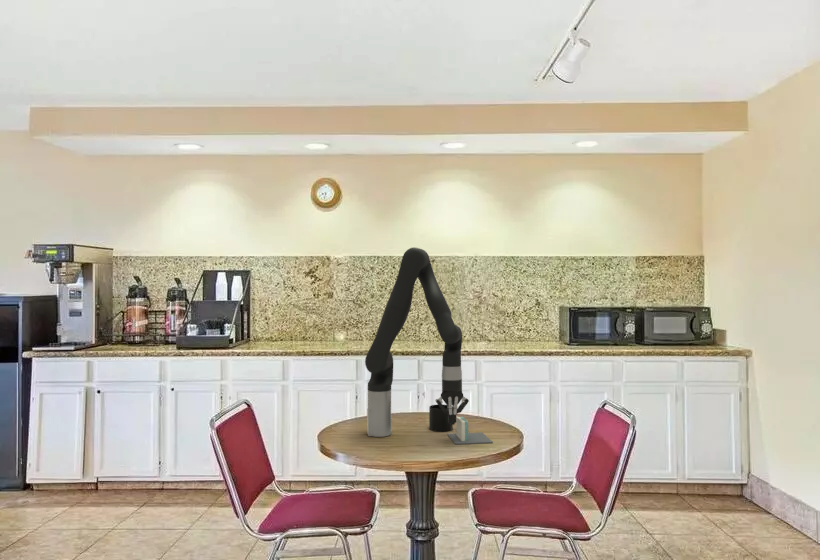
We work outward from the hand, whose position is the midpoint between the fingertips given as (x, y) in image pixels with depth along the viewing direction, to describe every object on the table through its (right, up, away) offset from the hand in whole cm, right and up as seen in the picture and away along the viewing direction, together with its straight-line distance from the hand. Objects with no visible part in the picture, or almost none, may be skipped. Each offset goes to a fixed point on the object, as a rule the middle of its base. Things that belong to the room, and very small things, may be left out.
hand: (452, 424), depth 207 cm
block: (+4, -5, +1) cm, 7 cm away
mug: (-4, -7, +18) cm, 19 cm away
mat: (+6, -6, +1) cm, 9 cm away
